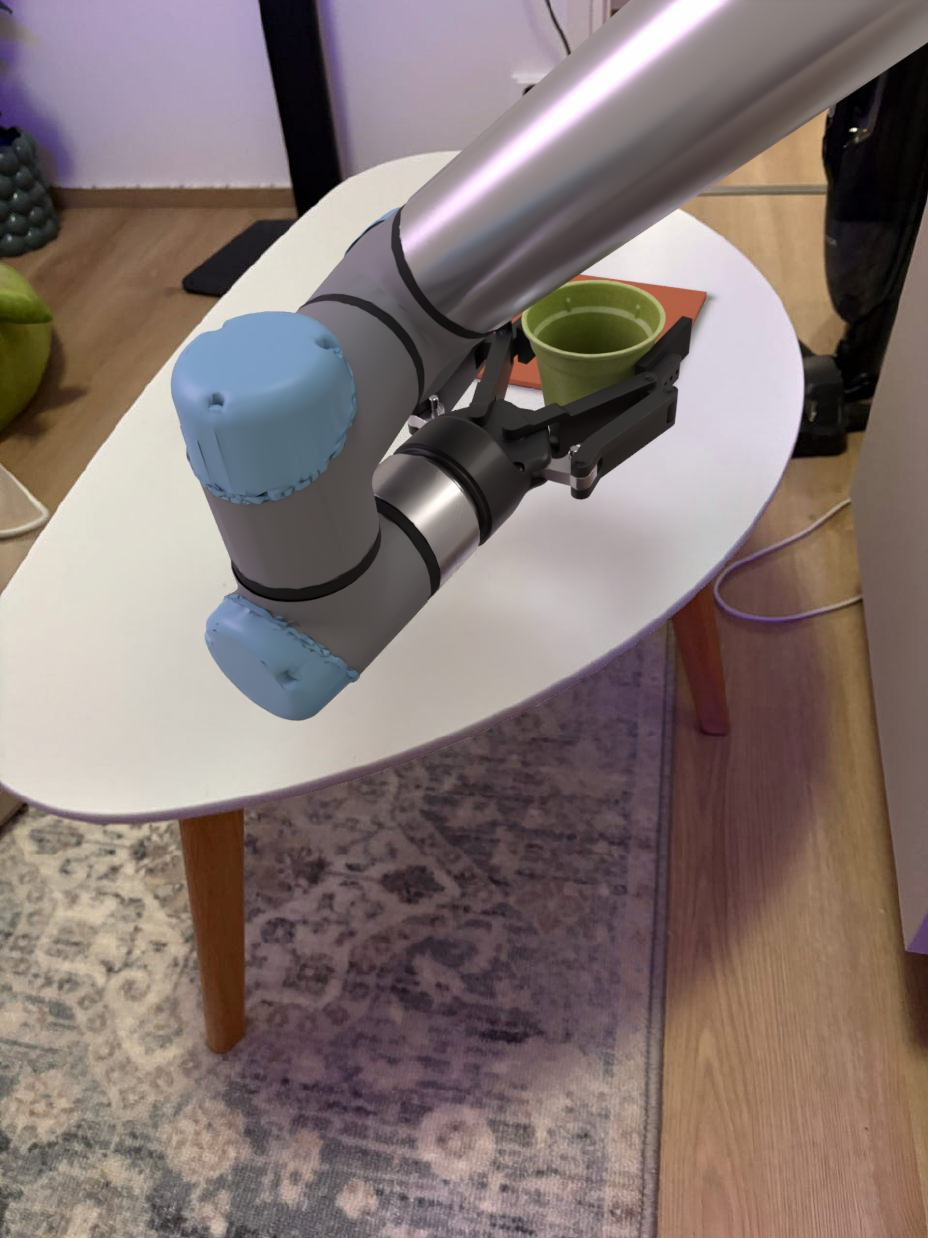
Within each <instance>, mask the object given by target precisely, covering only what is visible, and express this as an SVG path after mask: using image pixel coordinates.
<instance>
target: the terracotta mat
mask: <svg viewBox="0 0 928 1238" xmlns="http://www.w3.org/2000/svg"><path fill="white" fill-rule="evenodd" d="M586 280H606V281H614V282H620V283H623V284H628V285H632V286H634V287H637V288H639V289H641V290H644V291H646V292H648V293H649V294H651V295H652V296H653V297H654V298H656V299H657V300H658V302H659V303H660V304H661V305H662V307H663V309H664V311H665V316H666V321H665V326H664V329H663V331H662V333H661V334H660V336H659V337H658V338H657V339H656V340H655V343H656V342H657V341H658V340H659V339H660V338H661V337H662V336H663V335H664V334H665V333H666V332H667V331H668V330H669V329H670V328H671V327H672V326H673V325H674V324H675V323H676V322H677V321H678V320H679V319H680V318H681V317H682V316H685V317H689V318H693V320H692V327H693V326H694V324H695V321H696V319H697V317H698V316H699V313H700V311H701V309H702V306H703V305H704V303H705V300H706V299H707V294H708V292H707V291H703V290H697V289H688V288H682V287H674V286H667V285H660V284H659V285H658V284H653V283H645V282H639V281H631V280H623V279H617V278H609V277H602V276H595V275H588V274H582V273H581V274H579V275H578V276H576V277H575V278H573V279H572V280H570V281H569V282H567V283H570V282H575V281H586ZM522 313H523V312H522ZM522 313H521V314H519V315H518V316H516V317H515V318H513V319H512V323H514V322H515V321H516V320H517V319H518V318H519V317H521V316H522ZM494 333H495V332H494ZM484 368H485V366H484V367H483V369H482V370H481V371H480V373H479V374H478V376H477V377H476V378H477V379H481V378H482V374H483V371H484ZM476 378H475V379H476ZM509 384H510V385H514V386H520V387H527V388H532V389H536V390H542V387H541V381H540V375H539V370H538V365H537V359H536V357H535V358H533V359H532V360H531V361H530V362H529V363H528V364H527V365H526V364H523V363H520V362H518V356H517V355H516V356H515V357H514V366H513V369H512V373H511V377H510V380H509ZM509 384H508V385H509Z"/></svg>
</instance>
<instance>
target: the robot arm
mask: <svg viewBox="0 0 928 1238" xmlns="http://www.w3.org/2000/svg"><path fill="white" fill-rule="evenodd" d="M926 44H928V0H628V2H626V3H625V4H623V6H622V7H621V8H620V9H618V11H616V12H615V13H614V14H613V15H612V16H610V18H609V19H607V20H606V21H605V22H604V23H603V24H602V25H601V26H599V28H597V29H596V30H595V31H594V32H593V33H592V34H591V35H590V36H588V37H587V38H586V39H585V40H584V41H582V42H581V44H579V46H577V47H576V48H574V50H572V51H571V53H570V54H568V55H567V56H566V57H565V58H564V59H563V60H562V61H561V62H559V63H558V64H557V65H556V66H555V67H554V68H553V69H551V70H550V71H549V72H548V73H547V74H546V75H544V77H542V78H541V79H540V80H539V81H538V82H537V83H536V84H535V85H534V86H533V87H531V88H530V89H529V90H528V91H527V92H526V93H525V94H524V95H522V96H521V97H520V98H519V99H518V100H517V101H516V102H515V103H514V104H513V105H511V106H510V107H509V108H508V109H507V110H506V111H504V113H502V114H501V115H500V116H499V117H498V118H497V119H495V121H494V122H492V123H491V124H490V125H489V126H487V128H486V129H484V130H483V131H482V132H481V133H480V134H479V135H478V136H476V138H475V139H473V140H472V141H471V142H470V143H469V144H468V145H467V146H466V147H465V148H463V149H462V150H461V151H460V152H459V153H457V154H456V155H455V157H454V158H452V159H451V160H450V161H449V162H448V163H447V164H445V166H443V167H442V168H441V169H440V170H438V171H437V172H436V173H435V174H434V175H433V176H432V177H431V178H430V179H429V180H427V181H426V183H425V184H423V185H422V186H421V187H420V188H419V189H418V190H416V191H415V192H414V193H413V194H412V195H411V196H410V197H409V198H408V200H406V202H405V203H403V204H402V206H399V207H396V208H392V209H390V210H389V211H387V212H386V213H385V214H383V215H382V216H381V217H380V218H378V219H377V220H374V221H373V222H372V223H371V224H369V226H368V227H367V228H366V229H364V230H363V231H362V232H361V233H360V235H359V236H358V237H357V238H356V239H354V240H353V242H352V243H351V244H350V245H349V246H348V248H347V249H346V251H345V253H344V255H343V257H342V259H341V260H340V261H339V262H338V263H337V265H336V266H335V267H334V268H333V269H332V270H331V272H330V273H329V274H328V275H327V277H325V279H324V280H323V281H322V282H321V284H320V285H319V286H318V287H317V288H316V290H315V291H314V292H313V293H312V295H311V296H310V297H309V298H308V299H307V301H306V302H305V303H303V304H302V305H300V306H299V308H298V309H297V310H296V311H295V312H291V311H282V310H281V311H279V310H270V311H269V310H266V311H260V312H259V311H258V312H250V313H245V314H242V315H238V316H235V317H232V318H228V319H226V320H225V321H224V322H223V323H222V326H221V327H219V328H218V329H217V330H216V329H215V330H209V331H205V332H202V333H200V334H198V335H197V336H195V337H194V338H193V340H191V341H190V342H189V343H188V344H186V346H185V347H184V349H182V351H181V352H180V354H179V356H178V357H177V359H176V361H175V363H174V366H173V368H172V372H171V378H170V392H171V400H172V401H173V405H174V408H175V411H176V415H177V418H178V420H179V428H180V431H181V434H182V438H183V441H184V443H185V451H186V452H185V456H186V460H187V461H188V463H189V465H190V469H191V470H192V473H193V474H194V475H193V476H195V478H196V479H197V480H198V482H199V483H200V486H201V489H202V491H203V493H204V496H205V499H206V501H207V504H208V506H209V509H210V512H211V514H212V517H213V519H214V521H215V524H216V528H217V530H218V531H219V534H220V536H221V539H222V541H223V544H224V547H225V549H226V552H227V555H228V557H229V559H230V569H231V572H232V575H233V577H234V580H235V582H236V585H237V589H236V590H234V591H233V592H228V594H226V595H224V596H223V599H222V601H221V602H220V604H219V605H218V606H217V607H216V608H215V610H214V611H213V612H212V613H210V615H209V616H208V618H207V619H206V624H205V632H204V641H205V644H206V647H207V649H208V652H209V654H210V656H211V657H212V659H213V661H214V662H215V664H216V665H217V666H218V668H219V669H220V671H221V672H222V673H223V675H225V677H226V678H227V679H228V681H230V683H231V684H232V685H233V686H234V687H235V688H236V689H237V690H238V691H240V692H241V693H242V694H243V695H244V696H245V697H246V698H247V699H248V700H250V701H251V702H252V703H254V704H255V705H257V706H258V707H259V708H261V709H263V710H264V711H266V712H267V713H269V714H271V715H273V716H275V717H277V718H280V719H283V720H287V721H294V722H296V721H297V722H301V721H302V722H303V721H305V720H308V719H311V718H314V717H315V716H317V715H318V714H319V713H321V711H322V710H323V709H324V708H325V707H326V706H327V705H328V704H329V703H331V702H332V701H333V700H334V699H335V698H336V697H337V696H338V695H339V694H340V693H341V692H342V691H343V690H344V689H345V688H347V686H348V685H350V684H353V683H355V682H358V680H359V679H360V677H361V675H362V674H363V672H365V671H366V669H367V668H368V667H369V666H370V665H371V664H372V663H373V662H374V661H375V659H376V658H378V657H379V655H380V654H381V653H382V652H383V651H384V650H385V649H386V648H387V647H388V646H389V645H390V643H392V641H393V640H394V639H395V638H396V637H397V636H398V635H399V634H400V633H401V632H402V630H403V629H405V627H406V626H407V625H408V624H409V623H410V622H411V621H412V620H413V619H414V617H415V616H416V615H417V614H418V613H419V612H420V611H421V610H422V609H423V608H424V607H425V606H426V604H428V602H429V600H430V599H431V598H432V597H433V596H435V595H436V594H437V592H438V591H440V589H441V588H442V587H444V585H445V584H446V583H447V582H449V580H450V579H451V578H452V577H453V576H454V574H456V573H457V571H459V569H460V568H461V567H462V566H463V565H464V564H465V563H466V562H467V561H468V560H469V559H470V558H471V557H472V556H473V555H474V554H475V552H476V551H477V550H478V548H479V547H482V546H483V545H484V544H485V543H486V542H487V541H489V539H490V538H491V537H492V536H493V535H494V534H495V533H496V532H497V531H498V530H499V529H500V527H502V526H503V524H505V523H506V522H507V521H508V520H509V518H510V517H511V516H512V515H513V514H514V513H515V511H516V510H517V509H518V507H519V505H520V504H521V502H522V501H523V499H524V497H525V496H526V494H527V493H529V492H530V491H532V490H534V489H537V488H538V487H542V486H544V485H545V484H546V483H547V482H553V483H557V484H561V485H564V486H568V487H570V496H571V497H572V498H573V499H575V500H579V501H581V500H582V501H583V500H586V499H589V497H591V495H592V493H593V492H594V490H595V489H596V487H597V485H598V484H599V482H600V480H601V479H603V478H604V477H605V476H606V475H608V474H609V473H610V472H612V471H614V469H616V468H617V467H619V466H620V465H621V464H623V463H624V462H626V461H627V460H628V459H630V458H631V457H633V456H634V455H635V454H637V453H639V451H641V450H643V448H645V447H646V446H648V445H649V444H651V443H652V442H653V441H654V440H655V439H657V438H659V437H660V436H661V435H663V434H664V433H665V432H667V431H668V430H669V429H671V428H672V427H674V426H675V424H676V418H677V409H678V401H679V400H678V397H679V389H678V386H676V385H674V384H675V383H677V381H678V380H679V378H680V371H681V363H682V362H683V360H684V359H686V357H687V356H688V355H689V354H690V346H691V337H692V328H693V326H692V320H693V318H689V317H685V316H682V317H681V318H680V319H679V320H678V321H677V322H676V323H675V324H674V325H673V326H672V327H671V328H670V329H669V330H668V331H667V332H666V333H665V334H664V335H663V336H662V337H661V338H660V339H659V340H658V341H657V342H656V343H655V344H654V345H653V346H652V348H651V349H650V350H649V351H648V352H647V353H646V354H644V355H643V356H642V357H641V358H640V359H639V360H638V362H637V363H636V364H635V371H634V376H633V377H631V378H628V379H626V380H623V381H621V382H619V383H616V384H614V385H611V386H609V387H607V388H604V389H602V390H599V391H597V392H595V393H592V394H590V395H587V396H585V397H583V398H580V399H578V400H576V401H573V402H571V403H568V404H566V405H564V406H560V405H559V404H557V403H552V404H550V405H547V406H545V405H544V406H543V407H540V408H537V409H536V410H534V409H532V408H531V409H530V408H525V407H519V406H517V405H516V404H514V403H513V402H511V401H508V400H505V399H506V395H507V391H508V388H509V380H510V377H511V373H512V369H513V366H514V357H515V356H516V355H517V356H518V362H520V363H523V364H526V365H527V364H528V363H529V362H530V361H531V360H532V359H533V358H535V357H536V354H535V353H534V351H533V350H532V347H531V344H530V340H529V339H528V338H527V337H526V335H525V333H524V331H523V328H522V316H521V317H519V318H518V319H517V320H516V321H515V322H514V323H512V319H513V318H515V317H516V316H518V315H519V314H521V313H522V312H524V311H525V310H527V309H528V308H530V307H531V306H533V305H534V304H536V303H537V302H539V301H540V300H542V299H543V298H545V297H546V296H548V295H549V294H551V293H552V292H554V291H555V290H557V289H558V288H560V287H561V286H563V285H564V284H566V283H567V282H569V281H570V280H572V279H573V278H575V277H576V276H578V275H579V274H581V275H582V274H583V273H584V272H586V271H588V269H590V268H592V267H593V266H594V265H596V264H598V263H599V262H600V261H602V260H604V259H605V258H607V257H608V256H610V255H611V254H612V253H614V252H615V251H617V250H619V249H620V248H622V247H623V246H624V245H626V244H627V243H629V242H630V241H632V240H634V239H635V238H637V237H638V236H639V235H641V234H642V233H644V232H645V231H647V230H648V229H650V228H652V227H653V226H655V225H656V224H657V223H659V222H661V221H662V220H663V219H666V217H668V216H669V215H671V214H672V213H674V212H675V211H677V210H678V209H680V208H682V207H683V206H684V205H686V204H687V203H689V202H690V201H692V200H694V199H695V198H696V197H698V196H700V195H701V194H702V193H704V192H705V191H707V190H708V189H710V188H712V187H713V186H714V185H716V184H718V183H719V182H721V181H722V180H724V179H725V178H726V177H728V176H729V175H731V174H733V173H734V172H736V171H737V170H739V169H740V168H742V167H743V166H745V165H746V164H748V163H749V162H751V161H752V160H754V159H755V158H757V157H758V156H759V155H761V154H762V153H764V152H765V151H767V150H768V149H770V148H772V147H773V146H774V145H776V144H778V143H779V142H780V141H782V140H784V139H785V138H786V137H788V136H790V135H791V134H792V133H794V132H795V131H797V130H799V129H800V128H801V127H803V126H805V125H806V124H807V123H809V122H811V121H812V120H813V119H815V118H816V117H818V116H819V115H821V114H822V113H825V112H826V111H827V110H829V109H830V108H832V107H833V106H835V105H836V104H838V103H839V102H840V101H842V100H843V99H845V98H847V97H848V96H850V95H851V94H853V93H854V92H856V91H857V90H859V89H861V87H863V86H865V85H866V84H868V83H869V82H871V81H872V80H873V79H875V78H877V77H878V76H880V75H881V74H883V73H884V72H886V71H887V70H888V69H890V68H891V67H893V66H894V65H896V64H897V63H899V62H901V61H902V60H904V59H905V58H907V57H908V56H909V55H911V54H912V53H914V52H915V51H917V50H919V49H920V48H921V47H923V46H924V45H926ZM494 332H495V333H494ZM484 366H485V368H484V371H483V374H482V378H480V381H477V383H476V386H475V389H474V392H473V396H472V399H471V402H469V404H468V406H465V407H462V408H458V409H454V408H455V407H456V406H457V404H459V401H460V400H461V399H462V397H463V396H464V395H465V393H466V392H467V391H468V390H469V388H470V386H471V385H472V384H473V382H474V381H475V380H476V377H477V376H478V374H479V373H480V371H481V370H482V369H483V367H484ZM406 423H407V427H408V433H409V434H410V435H411V436H410V437H409V438H407V439H406V440H405V441H404V442H403V443H402V444H401V445H400V446H398V447H397V448H396V449H395V450H394V452H393V453H392V454H391V455H388V456H387V457H386V455H387V453H388V451H389V450H390V448H391V446H392V445H393V443H394V442H395V440H396V439H397V437H398V436H399V434H400V432H401V431H402V430H403V428H404V426H405V425H406ZM581 443H582V444H581ZM579 444H581V446H580V445H579ZM384 457H386V458H384ZM383 459H384V460H383Z"/></svg>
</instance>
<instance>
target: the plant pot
mask: <svg viewBox="0 0 928 1238" xmlns="http://www.w3.org/2000/svg"><path fill="white" fill-rule="evenodd" d="M665 321H666V316H665V311H664V309H663V307H662V305H661V304H660V303H659V302H658V300H657V299H656V298H654V297H653V296H652V295H651V294H649V293H648V292H646V291H644V290H641V289H639V288H637V287H634V286H632V285H628V284H623V283H620V282H614V281H606V280H586V281H575V282H570V283H566V284H564V285H563V286H561V287H560V288H558V289H557V290H555V291H554V292H552V293H551V294H549V295H548V296H546V297H545V298H543V299H542V300H540V301H539V302H537V303H536V304H534V305H533V306H531V307H530V308H528V309H527V310H525V311H524V312H523V313H522V328H523V331H524V333H525V335H526V337H527V338H528V339H529V340H530V344H531V347H532V350H533V351H534V353H535V354H536V359H537V365H538V370H539V375H540V381H541V387H542V389H541V392H542V397H543V404H544V407H545V406H547V405H550V404H552V403H557V404H559V405H560V406H564V405H566V404H568V403H571V402H573V401H576V400H578V399H580V398H583V397H585V396H587V395H590V394H592V393H595V392H597V391H599V390H602V389H604V388H607V387H609V386H611V385H614V384H616V383H619V382H621V381H623V380H626V379H628V378H631V377H633V376H634V371H635V364H636V363H637V362H638V360H639V359H640V358H641V357H642V356H643V355H644V354H646V353H647V352H648V351H649V350H650V349H651V348H652V346H653V345H654V344H655V340H656V339H657V338H658V337H659V336H660V334H661V333H662V331H663V329H664V326H665ZM581 444H582V443H581ZM581 444H579V445H578V446H579V447H580V446H581Z"/></svg>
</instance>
